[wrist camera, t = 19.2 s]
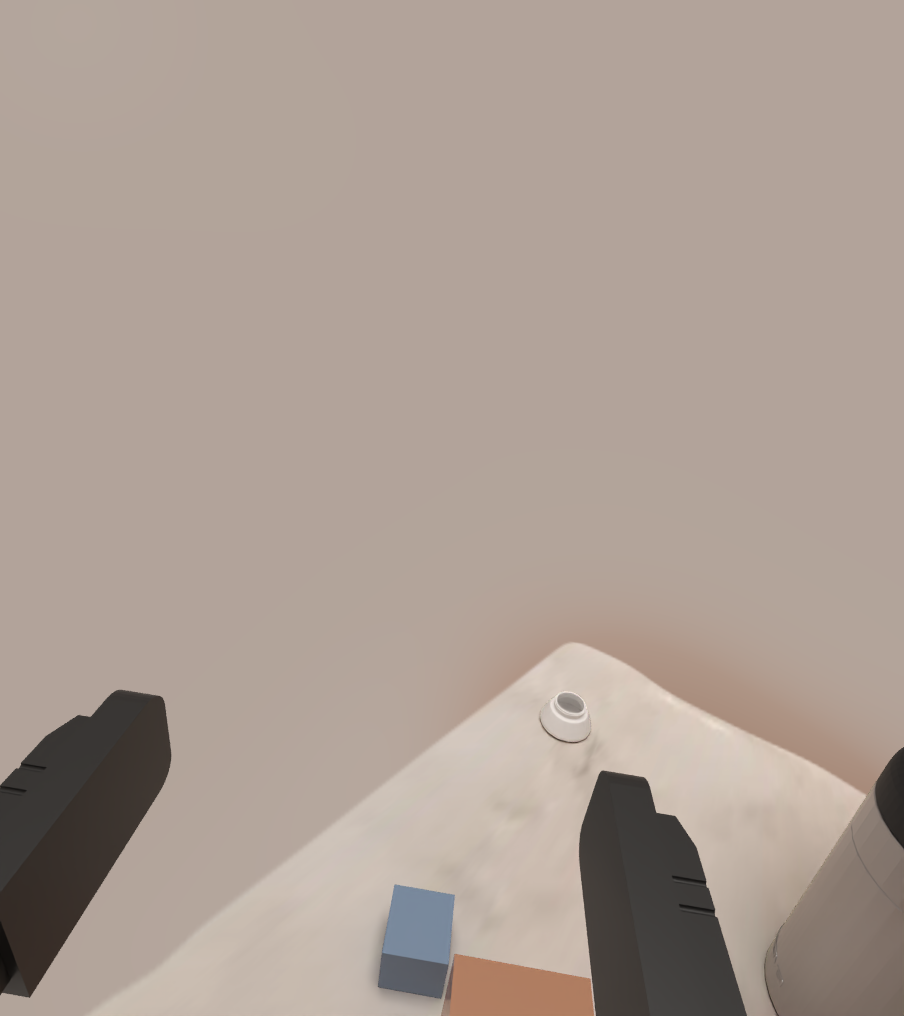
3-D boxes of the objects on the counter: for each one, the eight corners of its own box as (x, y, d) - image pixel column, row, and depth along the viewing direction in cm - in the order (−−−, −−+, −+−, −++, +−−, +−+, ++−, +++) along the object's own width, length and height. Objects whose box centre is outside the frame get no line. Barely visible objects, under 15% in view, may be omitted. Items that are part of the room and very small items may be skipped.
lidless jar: (530, 724, 57) (575, 753, 55) (536, 702, 56) (582, 731, 53) (554, 698, 61) (597, 724, 58) (560, 676, 60) (604, 702, 57)
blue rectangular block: (447, 929, 40) (454, 895, 38) (441, 999, 36) (448, 964, 34) (390, 919, 40) (394, 884, 38) (377, 988, 36) (382, 952, 34)
